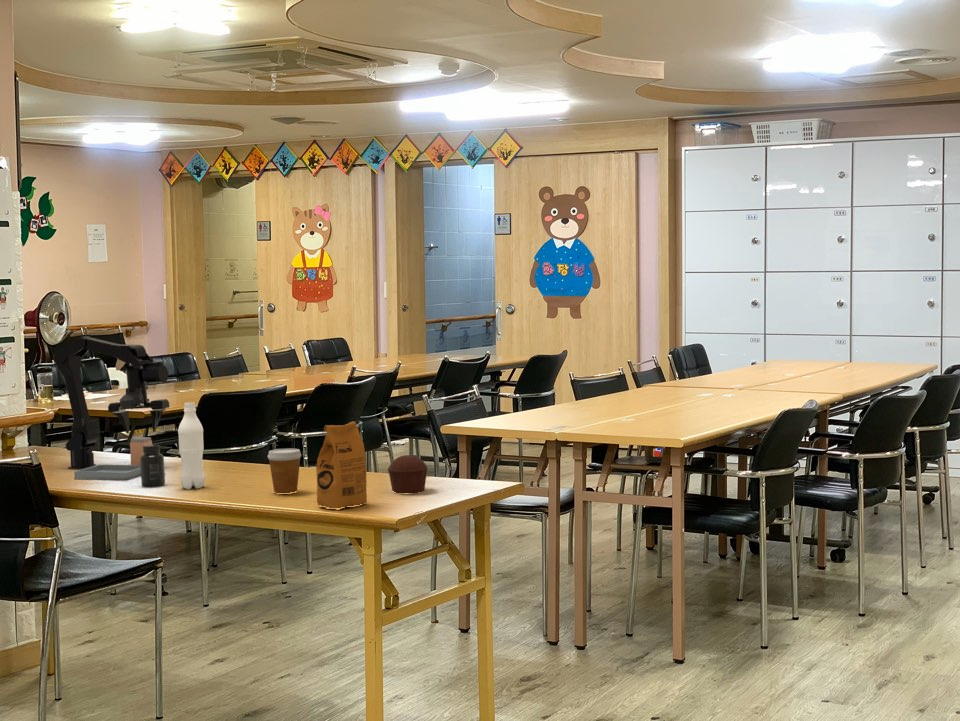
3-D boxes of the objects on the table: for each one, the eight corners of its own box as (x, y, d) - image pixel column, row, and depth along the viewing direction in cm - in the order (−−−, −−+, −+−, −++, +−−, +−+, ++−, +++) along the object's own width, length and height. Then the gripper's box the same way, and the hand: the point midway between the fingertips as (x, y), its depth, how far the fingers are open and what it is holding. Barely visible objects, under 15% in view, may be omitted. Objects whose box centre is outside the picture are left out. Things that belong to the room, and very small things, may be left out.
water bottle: (210, 486, 347) (207, 401, 345) (196, 490, 340) (193, 404, 339) (189, 485, 349) (185, 401, 348) (175, 489, 343) (171, 403, 341)
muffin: (390, 488, 338) (389, 453, 337) (429, 487, 337) (428, 452, 337) (386, 495, 326) (385, 459, 325) (427, 494, 326) (426, 458, 325)
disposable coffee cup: (262, 492, 334) (261, 450, 333) (292, 488, 340) (291, 447, 339) (278, 497, 327) (277, 454, 326) (309, 493, 332) (307, 450, 332)
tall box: (131, 470, 380) (129, 439, 380) (139, 467, 385) (138, 437, 385) (145, 470, 379) (143, 439, 379) (153, 467, 384) (151, 437, 383)
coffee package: (311, 507, 311) (308, 424, 309) (347, 500, 320) (345, 419, 318) (335, 512, 304) (333, 427, 303) (372, 504, 313) (369, 422, 312)
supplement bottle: (168, 483, 353) (167, 443, 352) (160, 487, 347) (158, 447, 346) (146, 483, 354) (144, 443, 353) (137, 487, 347) (135, 447, 346)
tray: (74, 479, 365) (74, 471, 365) (99, 471, 378) (99, 464, 378) (126, 480, 360) (126, 472, 360) (150, 472, 374) (150, 465, 374)
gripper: (97, 388, 373) (101, 437, 374) (152, 384, 370) (156, 434, 370) (114, 385, 384) (118, 432, 385) (168, 381, 381) (172, 429, 381)
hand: (141, 432), depth 380 cm, fingers open, 9 cm apart
